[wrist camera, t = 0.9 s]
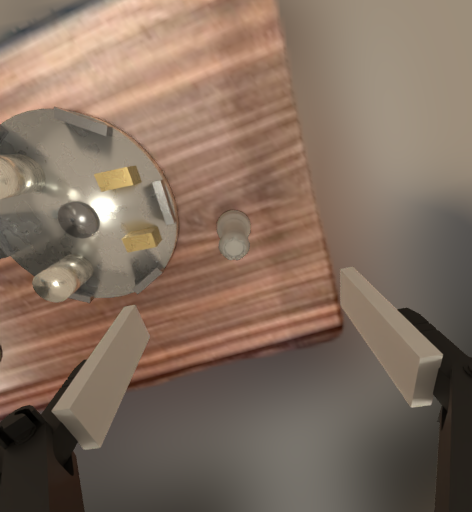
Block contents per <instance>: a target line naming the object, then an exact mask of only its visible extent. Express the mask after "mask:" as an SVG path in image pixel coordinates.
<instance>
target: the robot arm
mask: <svg viewBox="0 0 472 512" xmlns="http://www.w3.org/2000/svg"><path fill="white" fill-rule="evenodd" d="M340 303H341V307H342V308H343V310H344V311H345V313H346V314H347V315H348V317H349V318H350V320H351V321H352V323H353V324H354V325H355V327H356V328H357V330H358V331H359V333H360V334H361V336H362V337H363V339H364V340H365V341H366V343H367V344H368V346H369V347H370V349H371V350H372V352H373V353H374V354H375V356H376V357H377V359H378V360H379V362H380V363H381V365H382V366H383V367H384V369H385V370H386V372H387V373H388V375H389V376H390V378H391V379H392V380H393V382H394V383H395V385H396V386H397V388H398V389H399V391H400V392H401V394H402V395H403V396H404V398H405V399H406V401H407V402H408V404H409V405H410V407H418V406H426V405H431V403H432V399H433V395H434V396H435V397H436V398H437V400H438V401H439V402H440V403H441V405H442V406H441V410H440V413H439V417H438V421H437V422H439V423H440V427H439V443H438V459H437V475H436V492H435V509H434V512H472V358H471V357H468V356H467V355H466V354H464V353H463V352H462V351H461V350H460V349H459V348H458V347H457V346H455V345H454V344H453V343H452V342H451V341H450V340H449V339H447V338H446V337H445V336H444V335H443V334H442V333H441V332H440V331H438V330H436V328H435V327H434V326H433V325H432V324H429V322H428V321H427V320H426V319H425V318H424V317H422V316H421V315H420V314H419V313H416V312H415V311H413V310H411V309H409V308H402V309H396V308H395V307H394V306H393V305H391V303H389V301H388V300H386V299H385V298H384V297H383V296H382V295H381V294H380V293H379V292H378V291H377V290H376V289H375V288H374V287H373V286H372V285H371V284H370V283H369V282H368V281H367V280H366V279H365V278H364V277H363V276H362V275H361V274H360V273H359V272H357V270H356V269H355V268H354V267H349V268H343V269H340ZM149 338H150V335H149V333H148V331H147V329H146V327H145V324H144V322H143V320H142V318H141V316H140V314H139V312H138V309H137V307H136V305H131V306H126V307H124V308H123V309H122V311H121V312H120V314H119V315H118V316H117V318H116V319H115V321H114V322H113V324H112V325H111V326H110V328H109V329H108V331H107V332H106V334H105V335H104V336H103V338H102V339H101V341H100V342H99V344H98V345H97V346H96V348H95V349H94V351H93V352H92V354H91V355H90V356H89V358H88V359H87V360H83V361H82V362H81V363H80V364H79V365H78V366H77V367H76V368H75V369H74V370H73V371H72V373H71V374H70V376H69V377H68V380H66V381H65V382H64V384H63V385H62V388H60V389H59V391H58V392H57V393H56V395H55V396H54V398H53V399H52V400H51V402H50V403H49V404H48V406H47V407H46V409H45V410H44V411H43V413H42V414H41V415H40V413H39V412H38V411H37V410H36V409H35V408H34V407H33V406H30V405H28V406H23V407H21V408H19V409H17V410H15V411H14V412H12V413H11V414H9V415H8V416H7V417H6V418H4V419H3V420H2V421H1V422H0V512H85V511H84V504H83V499H82V491H81V485H80V478H79V472H78V465H77V459H76V455H75V453H74V452H73V450H74V448H75V446H76V444H77V442H78V443H79V445H80V446H82V448H83V449H84V450H87V449H93V448H100V447H101V445H102V443H103V441H104V438H105V436H106V434H107V432H108V430H109V427H110V425H111V423H112V421H113V418H114V416H115V414H116V411H117V409H118V407H119V405H120V403H121V400H122V398H123V396H124V394H125V392H126V389H127V387H128V385H129V383H130V380H131V378H132V376H133V374H134V371H135V369H136V367H137V365H138V362H139V360H140V358H141V356H142V354H143V351H144V349H145V347H146V345H147V342H148V340H149ZM0 360H1V349H0Z"/></svg>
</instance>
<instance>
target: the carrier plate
mask: <svg viewBox="0 0 472 512" xmlns="http://www.w3.org/2000/svg"><path fill="white" fill-rule="evenodd" d="M178 226H179V220H178V210H177V206H176V202H175V198H174V195H173V192H172V190H171V187H170V185H169V183H168V181H167V179H166V177H165V175H164V173H163V172H162V170H161V169H160V167H159V166H158V164H157V163H156V162H155V160H154V159H153V158H152V157H151V156H150V155H149V153H148V152H147V151H146V150H145V149H144V148H143V147H142V146H141V145H140V144H138V143H137V142H136V141H135V140H134V139H133V138H131V137H130V136H129V135H127V134H126V133H125V132H123V131H121V130H120V129H118V128H116V127H115V126H113V125H111V124H109V123H107V122H105V121H102V120H100V119H98V118H95V117H92V116H88V115H85V114H81V113H77V112H73V111H67V110H64V109H61V108H57V107H54V109H39V110H32V111H27V112H24V113H21V114H18V115H15V116H13V117H12V118H10V119H8V120H6V121H5V122H3V123H2V124H1V125H0V259H1V258H6V257H9V256H11V257H12V258H13V259H14V260H15V261H16V262H17V263H18V264H19V265H21V266H22V267H23V268H24V269H26V270H27V271H28V272H30V273H31V274H32V275H34V276H35V277H34V279H33V282H32V284H33V288H34V290H35V291H36V293H37V294H38V295H39V296H40V297H42V298H43V299H45V300H48V301H51V302H62V301H65V300H66V299H67V298H71V299H75V300H79V301H83V302H87V303H90V302H91V301H92V300H93V299H94V298H111V297H119V296H123V295H127V294H130V293H133V292H136V293H137V294H139V293H140V292H141V291H142V290H143V289H145V288H146V287H147V286H148V285H149V284H150V283H151V282H153V281H154V280H155V279H156V278H157V277H158V276H159V275H161V274H162V273H163V271H164V269H165V267H166V265H167V263H168V262H169V260H170V258H171V256H172V254H173V252H174V249H175V246H176V243H177V237H178Z"/></svg>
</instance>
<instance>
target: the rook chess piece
mask: <svg viewBox="0 0 472 512" xmlns="http://www.w3.org/2000/svg"><path fill="white" fill-rule="evenodd" d="M250 229H251V224H250V221H249V218H248V217H247V216H246V215H245V214H244V213H242V212H240V211H238V210H230V211H227V212H224V213H223V214H222V215H221V216H220V217H219V219H218V222H217V233H218V235H219V238H220V241H219V250H220V252H221V254H222V255H223V256H224V257H225V258H227V259H229V260H240V259H241V258H243V257H244V256H245V255H246V254H247V253H248V251H249V247H250V243H249V240H248V236H249V234H250Z"/></svg>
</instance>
